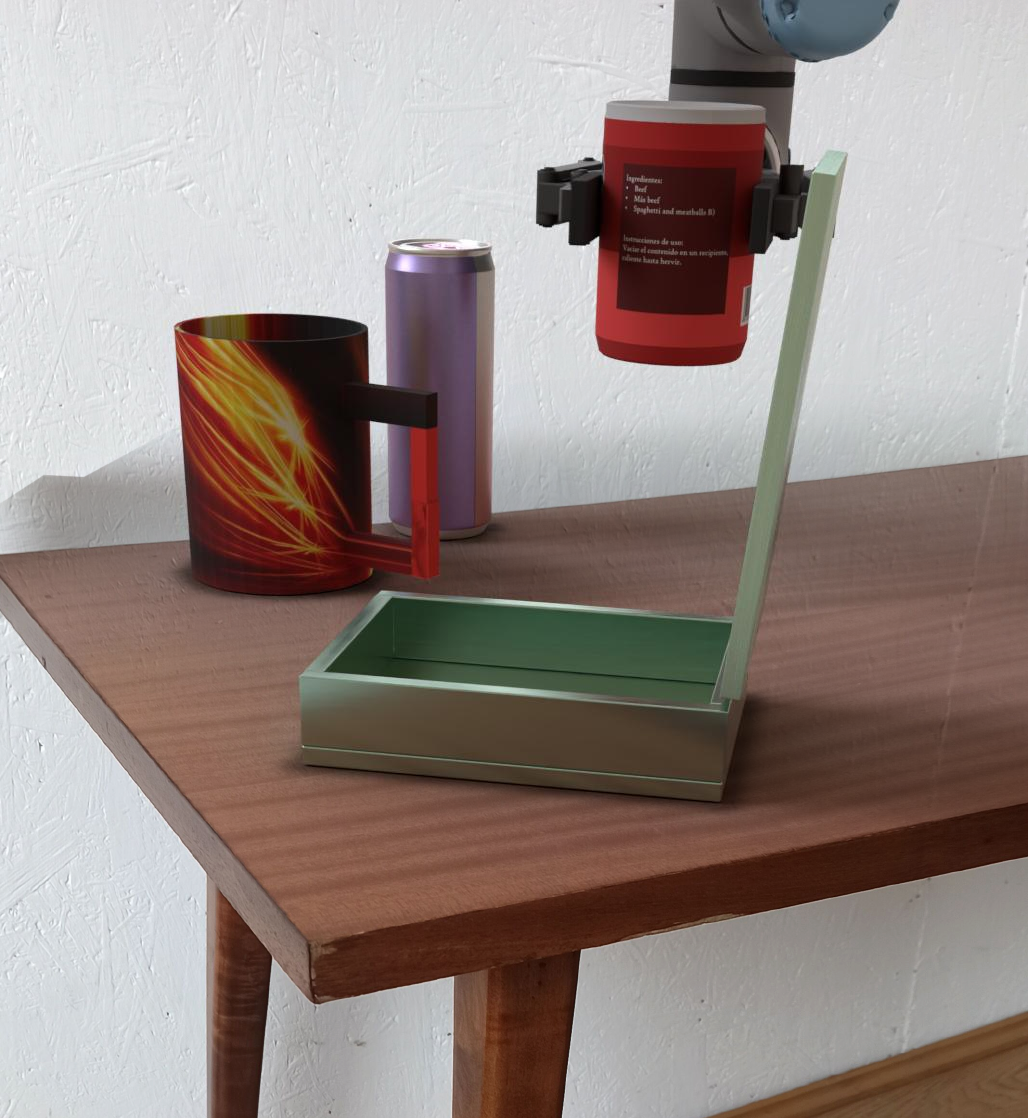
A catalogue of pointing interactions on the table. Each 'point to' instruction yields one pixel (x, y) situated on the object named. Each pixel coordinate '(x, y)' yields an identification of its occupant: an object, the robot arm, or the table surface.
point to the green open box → (525, 695)
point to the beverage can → (443, 373)
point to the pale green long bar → (784, 415)
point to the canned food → (677, 230)
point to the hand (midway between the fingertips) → (668, 217)
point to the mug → (295, 455)
